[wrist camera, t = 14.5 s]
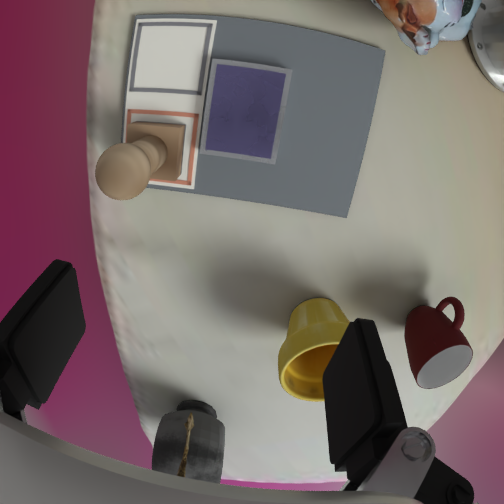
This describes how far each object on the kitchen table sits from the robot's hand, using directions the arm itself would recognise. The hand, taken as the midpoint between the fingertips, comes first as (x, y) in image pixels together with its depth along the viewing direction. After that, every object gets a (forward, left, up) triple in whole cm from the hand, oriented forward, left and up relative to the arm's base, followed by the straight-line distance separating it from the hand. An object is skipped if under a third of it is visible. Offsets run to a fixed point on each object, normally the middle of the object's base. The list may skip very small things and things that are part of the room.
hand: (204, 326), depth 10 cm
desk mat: (-5, 0, -23) cm, 24 cm away
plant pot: (+18, +12, -24) cm, 32 cm away
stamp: (0, -8, -23) cm, 24 cm away
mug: (+15, +27, -24) cm, 39 cm away
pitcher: (+42, -2, -24) cm, 48 cm away
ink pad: (-5, 0, -23) cm, 24 cm away
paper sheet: (-5, -8, -23) cm, 25 cm away
